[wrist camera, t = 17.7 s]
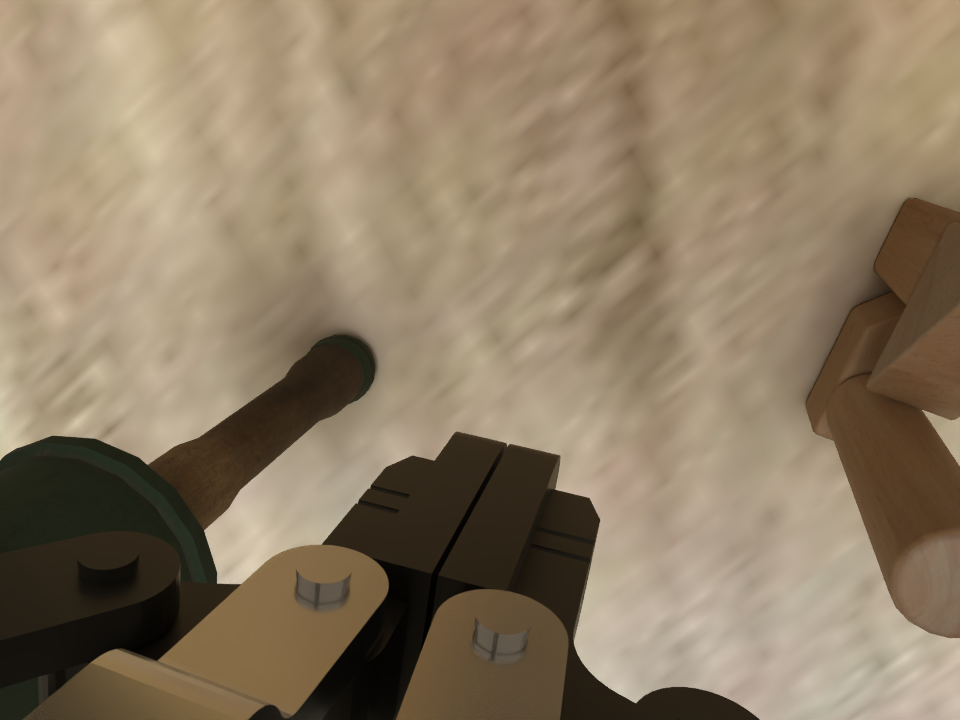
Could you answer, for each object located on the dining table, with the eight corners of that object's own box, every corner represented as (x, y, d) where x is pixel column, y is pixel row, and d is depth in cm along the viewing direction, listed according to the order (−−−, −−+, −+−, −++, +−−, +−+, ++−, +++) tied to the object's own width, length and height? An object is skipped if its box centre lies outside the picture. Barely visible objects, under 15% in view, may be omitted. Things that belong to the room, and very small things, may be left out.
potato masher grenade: (366, 464, 49) (-80, 966, 21) (249, 366, 49) (-353, 740, 21) (454, 358, 45) (63, 787, 18) (329, 253, 45) (-258, 518, 18)
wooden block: (988, 222, 37) (1215, 332, 21) (875, 433, 41) (991, 668, 25) (904, 194, 38) (1061, 280, 21) (801, 405, 42) (865, 618, 25)
